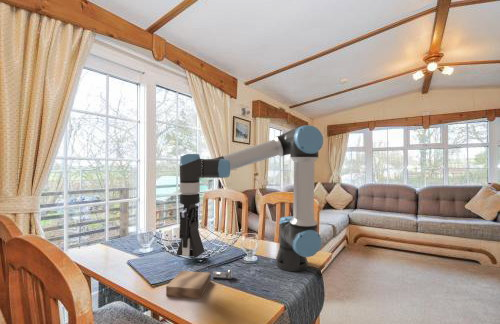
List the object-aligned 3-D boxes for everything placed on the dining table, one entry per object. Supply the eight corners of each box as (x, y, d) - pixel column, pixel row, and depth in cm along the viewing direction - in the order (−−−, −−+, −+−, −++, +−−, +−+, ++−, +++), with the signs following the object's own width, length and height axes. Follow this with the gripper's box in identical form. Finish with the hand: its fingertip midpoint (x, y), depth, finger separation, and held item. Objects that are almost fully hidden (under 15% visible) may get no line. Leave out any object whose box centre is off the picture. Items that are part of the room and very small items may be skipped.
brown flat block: (210, 281, 104) (210, 272, 104) (200, 298, 91) (200, 288, 91) (180, 279, 106) (180, 270, 106) (166, 295, 93) (166, 286, 93)
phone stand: (176, 254, 96) (176, 223, 96) (184, 249, 102) (184, 220, 102) (197, 257, 94) (197, 225, 94) (204, 251, 100) (204, 221, 99)
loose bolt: (232, 276, 108) (232, 267, 108) (230, 280, 104) (230, 271, 104) (214, 275, 109) (214, 266, 109) (211, 279, 105) (211, 270, 105)
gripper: (190, 189, 108) (189, 243, 108) (169, 196, 89) (169, 261, 89) (206, 190, 107) (206, 244, 107) (189, 197, 88) (189, 262, 88)
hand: (189, 251), depth 98 cm, fingers closed on phone stand, 6 cm apart
